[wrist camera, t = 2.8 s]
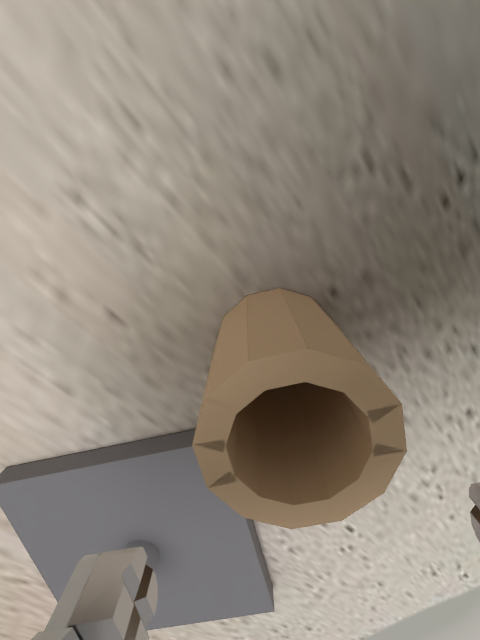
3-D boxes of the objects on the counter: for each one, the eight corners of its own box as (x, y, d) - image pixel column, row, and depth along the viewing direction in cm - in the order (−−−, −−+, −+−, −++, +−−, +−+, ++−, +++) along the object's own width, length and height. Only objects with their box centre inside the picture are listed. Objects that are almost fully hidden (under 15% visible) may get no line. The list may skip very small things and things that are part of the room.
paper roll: (324, 277, 17) (393, 330, 9) (343, 387, 18) (413, 508, 11) (203, 305, 17) (169, 378, 9) (233, 409, 19) (224, 540, 11)
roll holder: (223, 423, 19) (207, 575, 11) (272, 587, 23) (287, 784, 15) (6, 467, 20) (-150, 632, 12) (89, 615, 25) (13, 812, 16)
